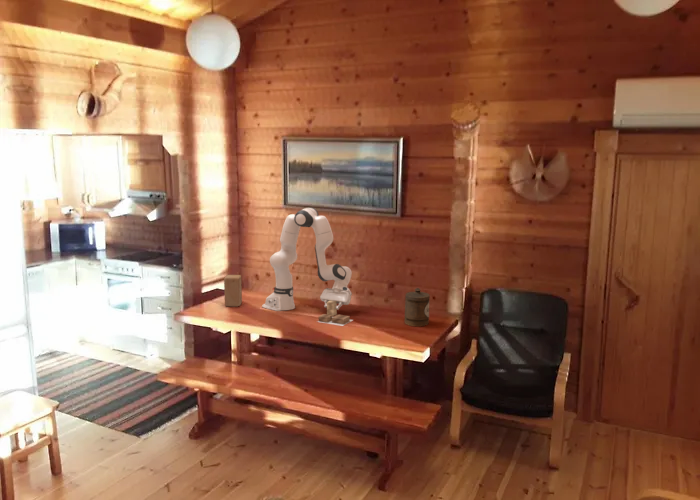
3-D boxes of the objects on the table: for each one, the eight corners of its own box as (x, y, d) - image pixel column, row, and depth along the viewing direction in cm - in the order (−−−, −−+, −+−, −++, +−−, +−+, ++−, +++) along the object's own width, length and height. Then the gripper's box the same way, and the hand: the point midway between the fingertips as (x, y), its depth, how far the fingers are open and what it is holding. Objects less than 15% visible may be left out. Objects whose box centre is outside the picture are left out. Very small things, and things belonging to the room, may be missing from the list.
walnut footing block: (318, 321, 364) (318, 316, 363) (323, 318, 369) (323, 313, 369) (327, 322, 361) (327, 317, 361) (331, 320, 366) (331, 315, 366)
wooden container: (431, 326, 360) (432, 290, 356) (408, 327, 357) (408, 291, 354) (424, 319, 374) (425, 285, 370) (401, 320, 372) (402, 285, 368)
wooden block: (239, 307, 398) (238, 277, 395) (224, 306, 399) (223, 277, 395) (242, 303, 408) (241, 274, 405) (227, 302, 408) (226, 274, 405)
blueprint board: (316, 323, 363) (316, 321, 363) (328, 317, 375) (328, 315, 375) (342, 328, 355) (342, 325, 355) (353, 321, 367) (353, 319, 367)
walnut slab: (331, 322, 361) (331, 317, 361) (338, 319, 368) (338, 314, 368) (343, 324, 358) (343, 319, 357) (349, 320, 365) (349, 316, 364)
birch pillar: (326, 317, 377) (326, 301, 375) (330, 315, 380) (330, 300, 379) (333, 318, 374) (333, 302, 373) (336, 316, 378) (336, 301, 377)
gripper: (323, 285, 385) (315, 303, 378) (351, 288, 376) (343, 307, 369) (326, 290, 390) (318, 308, 383) (354, 294, 380) (346, 312, 374)
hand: (331, 308), depth 376 cm, fingers open, 7 cm apart
